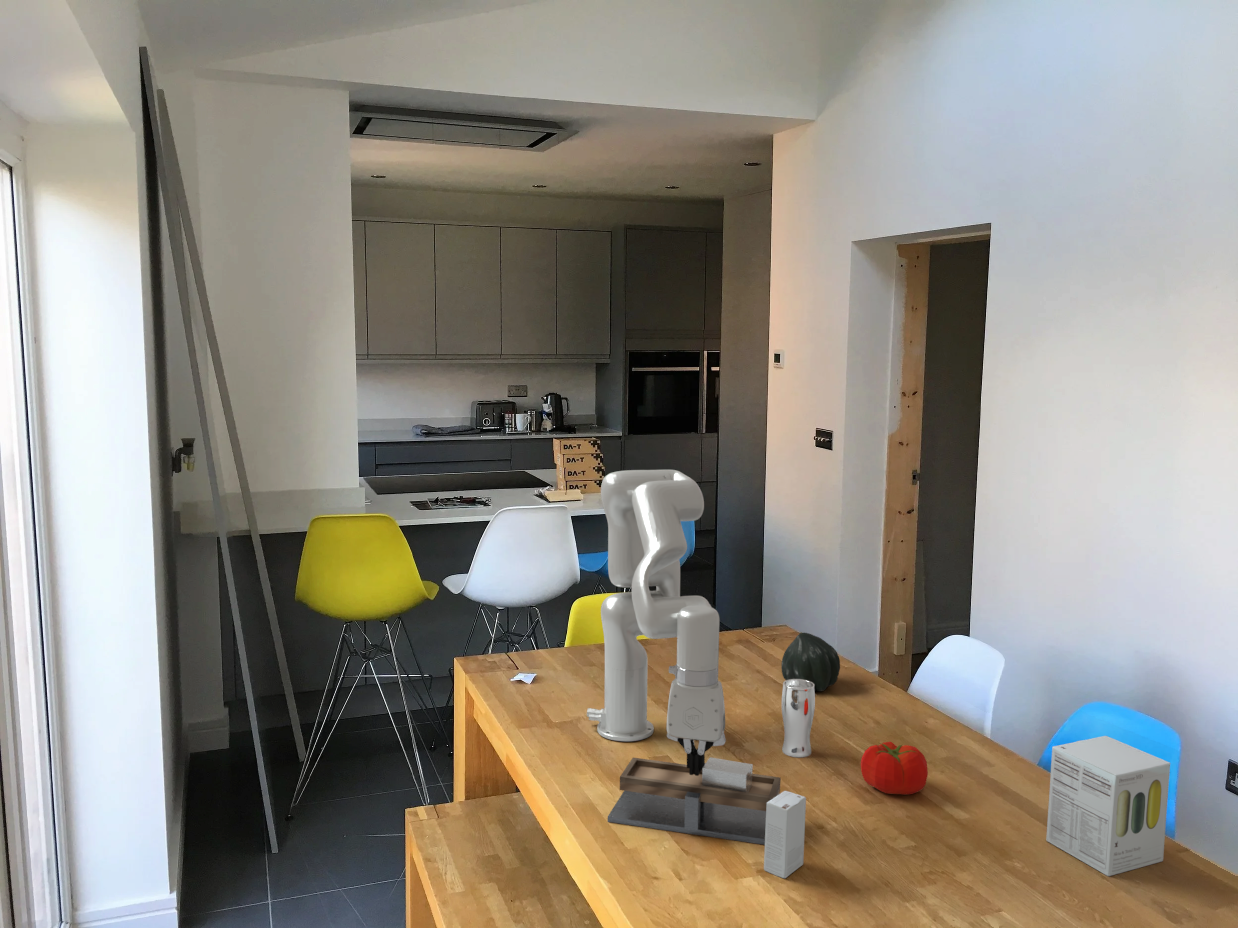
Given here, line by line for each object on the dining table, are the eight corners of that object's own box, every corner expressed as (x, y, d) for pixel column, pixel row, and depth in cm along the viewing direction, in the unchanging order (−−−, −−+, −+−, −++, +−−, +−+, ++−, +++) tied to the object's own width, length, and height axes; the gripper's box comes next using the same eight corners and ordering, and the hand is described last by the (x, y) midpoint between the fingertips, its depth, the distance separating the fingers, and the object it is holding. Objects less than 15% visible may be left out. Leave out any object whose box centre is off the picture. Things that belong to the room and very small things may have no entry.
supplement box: (1108, 878, 160) (1115, 775, 158) (1044, 841, 172) (1050, 745, 170) (1165, 861, 165) (1173, 762, 163) (1099, 827, 177) (1105, 733, 175)
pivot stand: (606, 822, 177) (607, 785, 176) (629, 787, 191) (629, 753, 190) (779, 848, 168) (780, 809, 167) (789, 809, 182) (790, 773, 182)
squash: (858, 664, 251) (822, 616, 255) (838, 683, 238) (800, 632, 242) (818, 692, 258) (783, 645, 262) (796, 711, 245) (760, 661, 249)
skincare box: (781, 856, 165) (783, 788, 164) (805, 865, 163) (807, 796, 161) (762, 871, 161) (764, 800, 159) (786, 880, 158) (788, 809, 156)
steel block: (701, 788, 176) (702, 767, 176) (709, 777, 181) (709, 757, 180) (745, 796, 173) (746, 775, 173) (751, 785, 178) (752, 764, 178)
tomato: (928, 779, 196) (929, 738, 195) (926, 806, 184) (928, 763, 183) (863, 770, 200) (864, 730, 199) (857, 796, 188) (858, 753, 187)
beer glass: (813, 759, 205) (815, 690, 203) (779, 756, 206) (781, 687, 205) (813, 746, 212) (815, 679, 210) (780, 743, 213) (782, 677, 212)
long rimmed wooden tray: (619, 789, 179) (619, 776, 178) (632, 769, 187) (632, 757, 187) (773, 812, 171) (774, 798, 171) (780, 790, 180) (780, 777, 179)
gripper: (651, 677, 175) (650, 775, 177) (734, 685, 171) (732, 786, 173) (662, 664, 182) (660, 759, 185) (742, 672, 178) (739, 769, 180)
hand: (695, 772), depth 179 cm, fingers closed
